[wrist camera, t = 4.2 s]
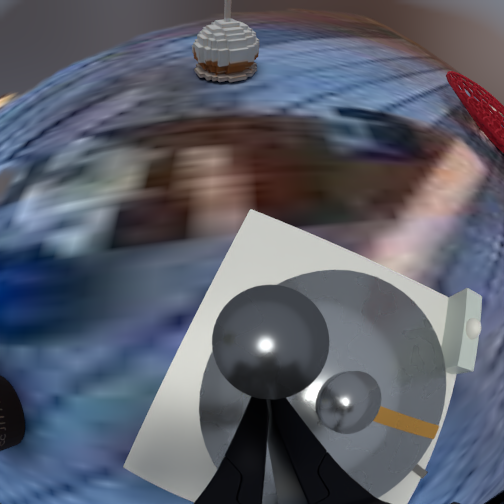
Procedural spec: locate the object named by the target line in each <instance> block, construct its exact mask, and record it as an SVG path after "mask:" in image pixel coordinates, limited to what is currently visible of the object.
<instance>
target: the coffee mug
mask: <svg viewBox="0 0 504 504" xmlns="http://www.w3.org/2000/svg"><path fill="white" fill-rule="evenodd" d="M24 432H25V420H24V414H23V410H22V406H21V403H20V400H19V398H18V396H17V394H16V392H15V390H14V389H13V387H12V386H11V384H10V383H9V382H8V381H7V380H6V379H5V378H4V377H2V376H0V451H1V450H4V449H7V448H10V447H12V446H15V445H17V444H19V443H20V442H21V441H22V439H23V437H24Z"/></svg>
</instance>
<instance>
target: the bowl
mask: <svg viewBox="0 0 504 504" xmlns="http://www.w3.org/2000/svg"><path fill="white" fill-rule="evenodd" d="M450 74H451V75H452V77H453V78H452V77H451V75H450ZM454 76H455V77H456V78H457V79H456V78H455V77H454ZM458 76H459V77H458ZM446 77H447V80H448V82H449V84H450V85H451V87H452V88H453V90H454V91H455V93H456V94H457V96H458V97H459V99H460V100H461V102H462V103H463V105H464V106H465V108H466V109H467V111H468V112H469V113H470V115H471V116H472V118H473V119H474V121H475V122H476V123H477V125H478V126H479V127H480V129H481V130H482V131H483V132H484V134H485V135H486V136H487V137H488V138H489V139H490V141H491V142H492V143H493V144H494V145H495V146H496V147H497V148H498V149H499V150H501V151H502V152H503V153H504V128H503V127H504V122H503V121H504V117H502V116H501V115H500V113H502V114H503V115H504V106H503V105H502V104H501V103H500V102H499V101H498V100H497V99H496V98H494V97H493V96H492V95H491V94H490V93H489V92H487V91H486V90H485V89H484V88H482V87H481V86H479V85H478V84H477V83H475V82H473V81H472V80H470V79H468V78H467V77H465V76H463V75H461V74H459V73H456V72H453V71H449V72H448V73H447V75H446ZM461 78H463V79H465V80H466V82H465V81H464V80H463V79H461ZM468 81H469V82H470V83H472V84H473V86H472V85H471V84H470V83H469V82H468ZM462 82H463V83H464V84H465V85H466V86H467V87H466V86H465V85H464V84H463V83H462ZM458 85H459V86H460V87H461V89H462V90H461V89H460V88H459V86H458ZM476 86H477V87H476ZM469 88H470V89H471V90H472V91H473V93H472V92H471V90H470V89H469ZM464 89H466V90H467V91H468V92H469V93H470V95H471V97H469V96H468V95H467V94H466V92H465V90H464ZM480 89H481V90H482V91H484V92H485V93H486V94H484V93H483V92H482V91H481V90H480ZM477 90H478V91H479V92H480V93H481V94H482V95H483V96H482V95H480V93H479V92H478V91H477ZM473 96H475V97H476V98H477V99H478V100H479V101H480V102H479V101H477V100H476V99H475V98H474V97H473ZM489 96H490V97H489ZM487 98H488V99H487ZM482 99H484V100H485V101H486V102H487V103H486V102H485V101H483V100H482ZM488 100H489V101H488ZM489 104H490V105H491V106H493V107H494V108H495V109H496V110H497V112H496V111H494V110H493V109H492V108H491V107H490V106H489ZM499 105H500V106H501V107H502V108H501V107H500V106H499ZM489 110H490V111H491V112H492V113H493V114H492V113H491V112H490V111H489ZM499 112H500V113H499ZM497 115H498V116H497ZM501 125H502V126H503V127H502V126H501Z"/></svg>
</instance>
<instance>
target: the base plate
mask: <svg viewBox="0 0 504 504" xmlns="http://www.w3.org/2000/svg"><path fill="white" fill-rule="evenodd" d="M322 270H350V271H356V272H361V273H365V274H368V275H371V276H375V277H378V278H380V279H382V280H384V281H386V282H388V283H390V284H392V285H393V286H395V287H396V288H398V289H400V290H401V291H403V292H404V293H405V294H406V295H407V296H408V297H410V298H411V299H412V300H413V301H414V302H415V303H416V304H417V305H418V307H419V308H420V309H421V310H422V311H423V313H424V314H425V315H426V317H427V318H428V320H429V321H430V323H431V325H432V327H433V329H434V331H435V333H436V335H437V337H438V340H439V343H440V345H441V348H442V352H443V357H444V361H445V369H446V395H445V403H444V408H443V412H442V416H441V420H440V423H439V429H438V431H437V433H436V436H435V438H434V439H433V440H432V442H431V444H430V446H429V447H428V449H427V451H426V452H425V454H424V455H423V457H422V458H421V460H420V461H419V462H418V463H417V465H416V466H415V467H414V468H413V470H412V471H411V472H410V473H409V474H408V475H407V476H406V477H405V478H404V479H403V480H402V481H401V482H400V483H399V484H397V485H396V486H395V487H393V488H392V489H391V490H390V491H388V492H387V493H385V494H384V495H382V496H381V497H379V498H378V499H380V500H382V501H384V502H388V503H391V504H407V503H408V501H409V500H410V498H411V496H412V494H413V492H414V490H415V489H416V487H417V485H418V483H419V481H420V479H421V478H423V477H424V476H425V475H426V474H427V471H425V468H426V466H427V464H428V461H429V459H430V457H431V454H432V452H433V449H434V447H435V444H436V442H437V439H438V436H439V433H440V431H441V428H442V425H443V422H444V419H445V416H446V412H447V409H448V406H449V402H450V399H451V395H452V391H453V387H454V383H455V379H456V374H459V373H466V372H472V371H473V370H474V365H475V359H476V353H477V346H478V338H479V334H480V332H481V323H480V319H481V304H482V296H480V295H479V294H477V293H475V292H474V291H472V290H470V289H468V288H466V289H464V290H462V291H460V292H458V293H456V294H455V295H453V296H451V297H449V298H448V297H446V296H444V295H442V294H440V293H438V292H436V291H434V290H432V289H430V288H428V287H426V286H424V285H422V284H420V283H418V282H416V281H414V280H412V279H410V278H408V277H406V276H404V275H402V274H399V273H397V272H395V271H393V270H391V269H389V268H387V267H384V266H382V265H380V264H378V263H376V262H374V261H371V260H369V259H367V258H365V257H363V256H360V255H358V254H356V253H354V252H352V251H349V250H347V249H345V248H342V247H340V246H338V245H336V244H333V243H331V242H329V241H326V240H324V239H322V238H320V237H317V236H315V235H312V234H310V233H308V232H305V231H303V230H301V229H298V228H296V227H293V226H291V225H289V224H286V223H284V222H281V221H279V220H277V219H274V218H272V217H269V216H267V215H264V214H262V213H259V212H257V211H254V210H252V209H250V211H249V213H248V215H247V217H246V218H245V220H244V222H243V224H242V226H241V228H240V230H239V232H238V234H237V235H236V237H235V239H234V241H233V243H232V245H231V247H230V249H229V251H228V253H227V255H226V256H225V258H224V260H223V262H222V264H221V266H220V268H219V270H218V272H217V274H216V276H215V278H214V280H213V282H212V284H211V286H210V287H209V289H208V291H207V293H206V295H205V297H204V299H203V301H202V303H201V305H200V307H199V309H198V311H197V313H196V315H195V317H194V319H193V321H192V323H191V325H190V327H189V329H188V331H187V333H186V335H185V337H184V339H183V341H182V343H181V345H180V347H179V349H178V351H177V353H176V355H175V357H174V359H173V361H172V363H171V366H170V368H169V370H168V372H167V374H166V376H165V378H164V380H163V382H162V384H161V386H160V388H159V390H158V392H157V395H156V397H155V399H154V401H153V403H152V405H151V407H150V409H149V411H148V414H147V416H146V418H145V420H144V422H143V424H142V426H141V429H140V431H139V433H138V435H137V437H136V439H135V442H134V444H133V446H132V448H131V450H130V453H129V455H128V457H127V459H126V461H125V464H124V466H123V467H124V468H125V469H127V470H129V471H130V472H132V473H134V474H136V475H137V476H139V477H141V478H143V479H145V480H147V481H149V482H150V483H152V484H154V485H156V486H158V487H160V488H162V489H165V490H167V491H169V492H171V493H173V494H175V495H178V496H180V497H182V498H185V499H187V500H189V501H192V502H195V501H196V500H197V498H198V497H199V496H200V495H201V493H202V492H203V491H204V489H205V488H206V487H207V485H208V484H209V482H210V481H211V479H212V478H213V476H214V475H215V473H216V471H217V468H216V466H215V465H214V463H213V462H212V459H211V457H210V455H209V453H208V451H207V448H206V446H205V443H204V439H203V435H202V431H201V426H200V416H199V399H200V389H201V384H202V379H203V374H204V371H205V368H206V365H207V363H208V360H209V357H210V355H211V353H212V351H213V350H212V334H213V329H214V325H215V323H216V320H217V318H218V316H219V314H220V312H221V311H222V309H223V308H224V306H225V305H226V304H227V303H228V302H229V301H230V300H231V299H232V298H234V297H235V296H236V295H238V294H239V293H241V292H243V291H245V290H247V289H249V288H252V287H256V286H261V285H277V284H279V283H281V282H283V281H285V280H287V279H290V278H293V277H296V276H299V275H301V274H306V273H310V272H315V271H322Z"/></svg>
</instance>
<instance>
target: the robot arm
mask: <svg viewBox="0 0 504 504" xmlns="http://www.w3.org/2000/svg"><path fill="white" fill-rule="evenodd" d="M267 442H268V449H269V454H270V460H271V465H272V471H273V476H274V482H275V487H276V492H277V497H278V503H279V504H391V503H388V502H384V501H382V500H380V499H378V498H376V497H375V496H373V495H372V494H371V493H369V492H368V491H367V490H366V489H365V488H363V487H362V486H361V485H360V484H359V483H358V482H356V481H355V480H354V479H353V478H352V477H351V476H350V475H349V474H348V473H347V472H346V471H344V470H343V469H342V468H341V467H340V465H339V464H338V463H337V462H336V461H335V460H334V459H333V457H332V456H331V455H330V454H329V452H327V450H326V449H325V448H324V446H323V445H322V444H321V443H320V441H319V440H318V439H317V438H316V436H315V435H314V434H313V432H312V431H311V430H310V429H309V427H308V426H307V425H306V423H305V422H304V421H303V419H302V418H301V417H300V415H299V414H298V413H297V411H296V410H295V409H294V407H293V406H292V405H291V403H290V402H289V401H288V399H287V398H282V399H260V398H256V397H252V396H251V398H250V400H249V402H248V405H247V407H246V409H245V412H244V414H243V416H242V418H241V421H240V423H239V425H238V427H237V430H236V432H235V434H234V436H233V438H232V441H231V443H230V445H229V447H228V449H227V451H226V453H225V457H223V459H222V461H221V464H220V466H219V467H218V469H217V471H216V473H215V475H214V476H213V478H212V479H211V481H210V482H209V484H208V485H207V487H206V488H205V489H204V491H203V492H202V493H201V495H200V496H199V497H198V498H197V500H196V501H195V502H194V504H262V499H263V488H264V477H265V465H266V453H267ZM0 504H1V503H0ZM451 504H460V503H457V502H453V503H451ZM484 504H504V490H502V491H501V492H500V493H498V494H497V495H496V496H494V497H493V498H491V499H490V500H488V501H487V502H485V503H484Z"/></svg>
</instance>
